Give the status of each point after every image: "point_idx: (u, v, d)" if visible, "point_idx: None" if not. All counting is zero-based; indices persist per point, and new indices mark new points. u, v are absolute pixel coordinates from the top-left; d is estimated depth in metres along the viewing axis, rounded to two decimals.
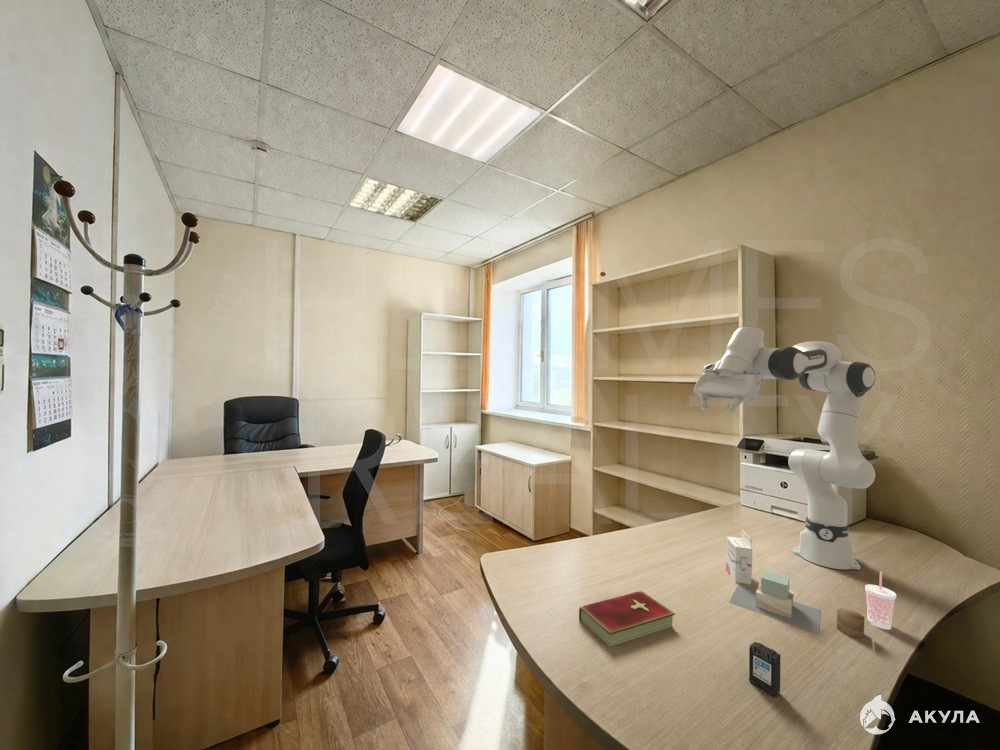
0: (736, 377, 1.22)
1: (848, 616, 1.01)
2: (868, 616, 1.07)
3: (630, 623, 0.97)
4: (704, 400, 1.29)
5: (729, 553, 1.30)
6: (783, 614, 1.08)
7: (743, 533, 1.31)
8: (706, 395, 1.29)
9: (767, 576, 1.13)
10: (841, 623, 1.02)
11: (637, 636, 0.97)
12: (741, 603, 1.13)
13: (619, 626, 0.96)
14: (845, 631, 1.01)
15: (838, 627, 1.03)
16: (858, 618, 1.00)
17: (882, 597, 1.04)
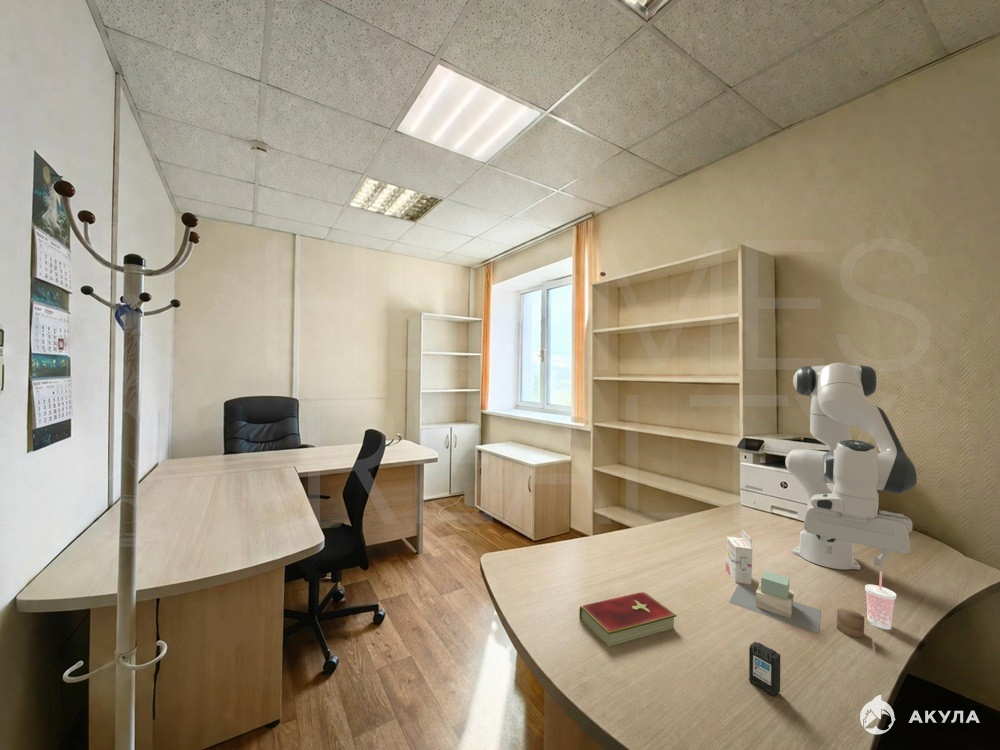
0: (875, 523, 0.98)
1: (848, 616, 1.01)
2: (868, 616, 1.07)
3: (630, 624, 0.97)
4: (826, 542, 1.05)
5: (729, 553, 1.30)
6: (783, 614, 1.08)
7: (743, 533, 1.31)
8: (827, 536, 1.05)
9: (767, 576, 1.13)
10: (841, 623, 1.02)
11: (637, 637, 0.97)
12: (741, 603, 1.13)
13: (618, 627, 0.96)
14: (845, 631, 1.01)
15: (838, 627, 1.03)
16: (858, 618, 1.00)
17: (882, 597, 1.04)
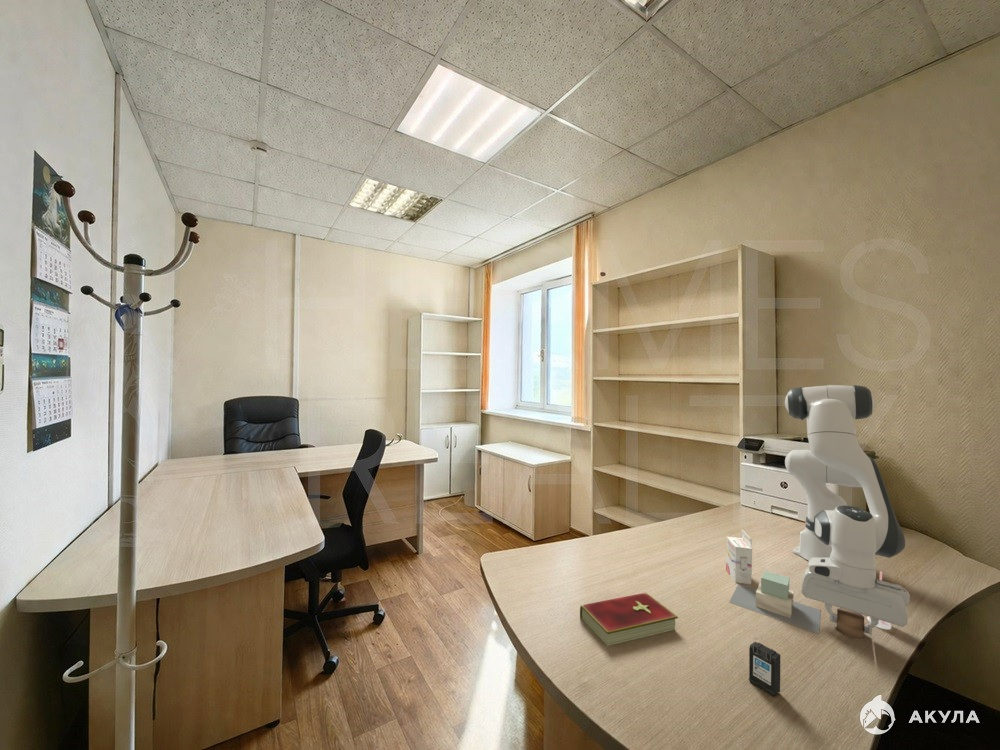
0: (872, 593, 0.98)
1: (848, 616, 1.01)
2: (868, 616, 1.07)
3: (629, 624, 0.97)
4: (830, 610, 1.04)
5: (729, 553, 1.30)
6: (783, 614, 1.08)
7: (743, 533, 1.31)
8: None
9: (767, 576, 1.13)
10: (841, 623, 1.02)
11: (637, 637, 0.97)
12: (741, 603, 1.13)
13: (617, 627, 0.96)
14: (845, 631, 1.01)
15: (838, 627, 1.03)
16: (858, 618, 1.00)
17: None
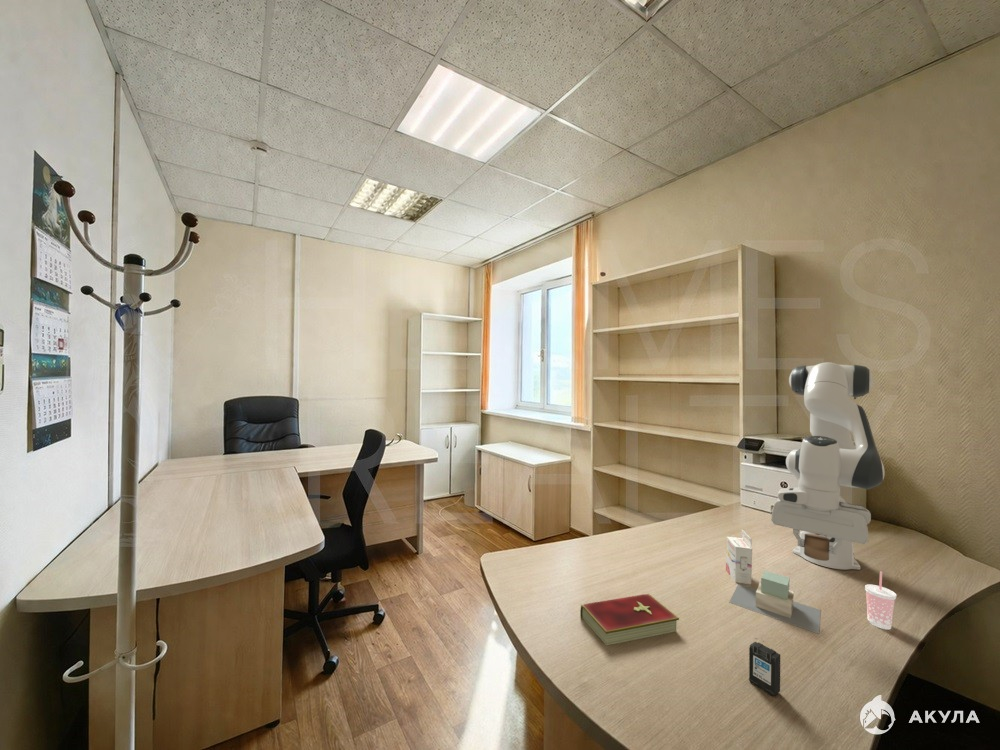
0: (836, 515, 1.03)
1: (814, 538, 1.06)
2: (868, 616, 1.07)
3: (629, 624, 0.97)
4: (798, 535, 1.09)
5: (729, 553, 1.30)
6: (783, 614, 1.08)
7: (743, 533, 1.31)
8: (799, 529, 1.09)
9: (767, 576, 1.13)
10: (808, 546, 1.06)
11: (636, 638, 0.97)
12: (741, 603, 1.13)
13: (617, 626, 0.96)
14: (811, 553, 1.05)
15: (805, 550, 1.07)
16: (823, 540, 1.05)
17: (882, 597, 1.04)
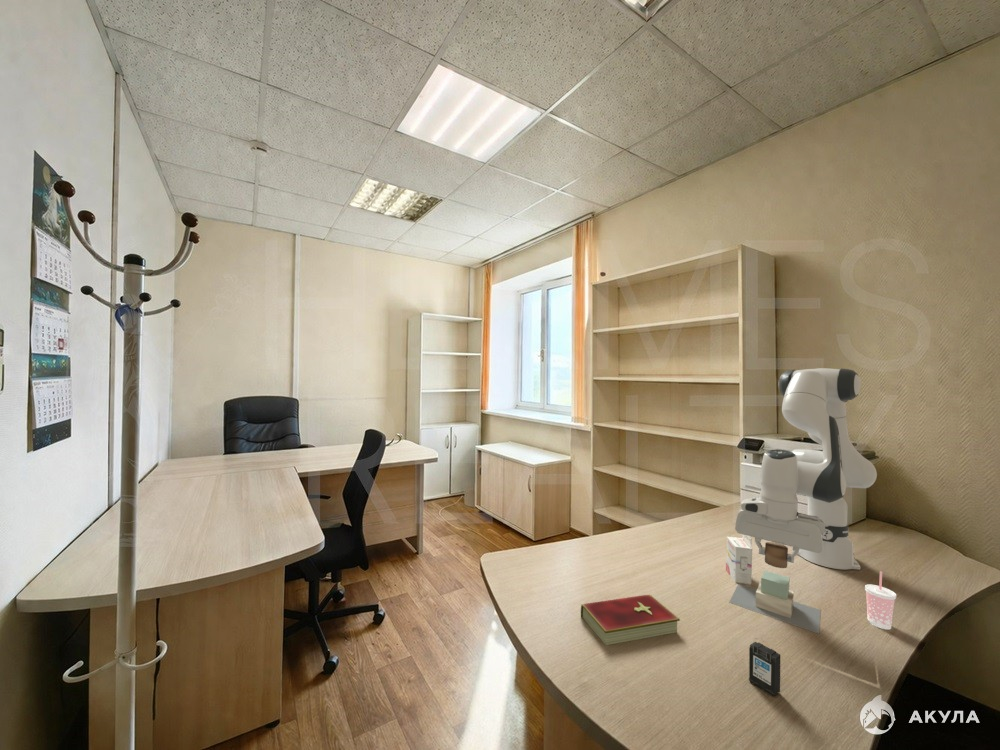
0: (793, 525, 1.09)
1: (773, 547, 1.11)
2: (868, 616, 1.07)
3: (629, 624, 0.97)
4: (759, 544, 1.15)
5: (729, 553, 1.30)
6: (783, 614, 1.08)
7: None
8: (760, 538, 1.14)
9: (767, 576, 1.13)
10: (767, 554, 1.12)
11: (636, 638, 0.97)
12: (741, 603, 1.13)
13: (616, 626, 0.96)
14: (770, 560, 1.11)
15: (765, 558, 1.13)
16: (782, 548, 1.10)
17: (882, 597, 1.04)
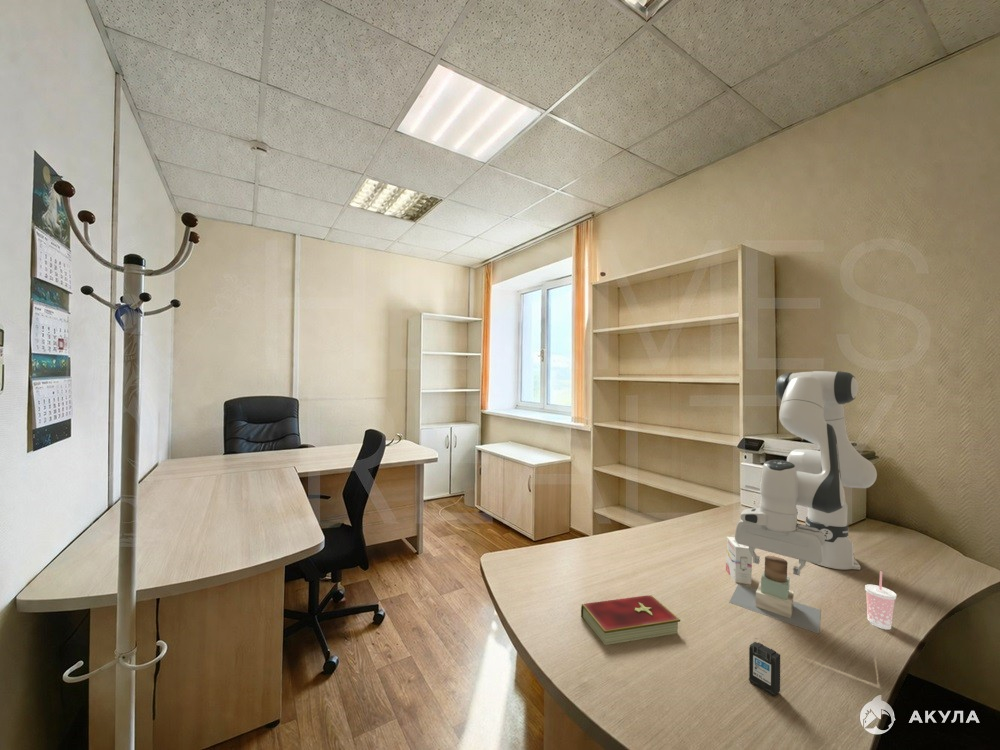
0: (793, 536, 1.09)
1: (773, 561, 1.11)
2: (868, 616, 1.07)
3: (628, 624, 0.97)
4: (753, 552, 1.16)
5: (729, 553, 1.30)
6: (783, 614, 1.08)
7: None
8: (754, 547, 1.15)
9: None
10: (767, 568, 1.12)
11: (636, 638, 0.97)
12: (741, 603, 1.13)
13: (616, 626, 0.96)
14: (770, 575, 1.11)
15: (765, 572, 1.13)
16: (781, 563, 1.11)
17: (882, 597, 1.04)
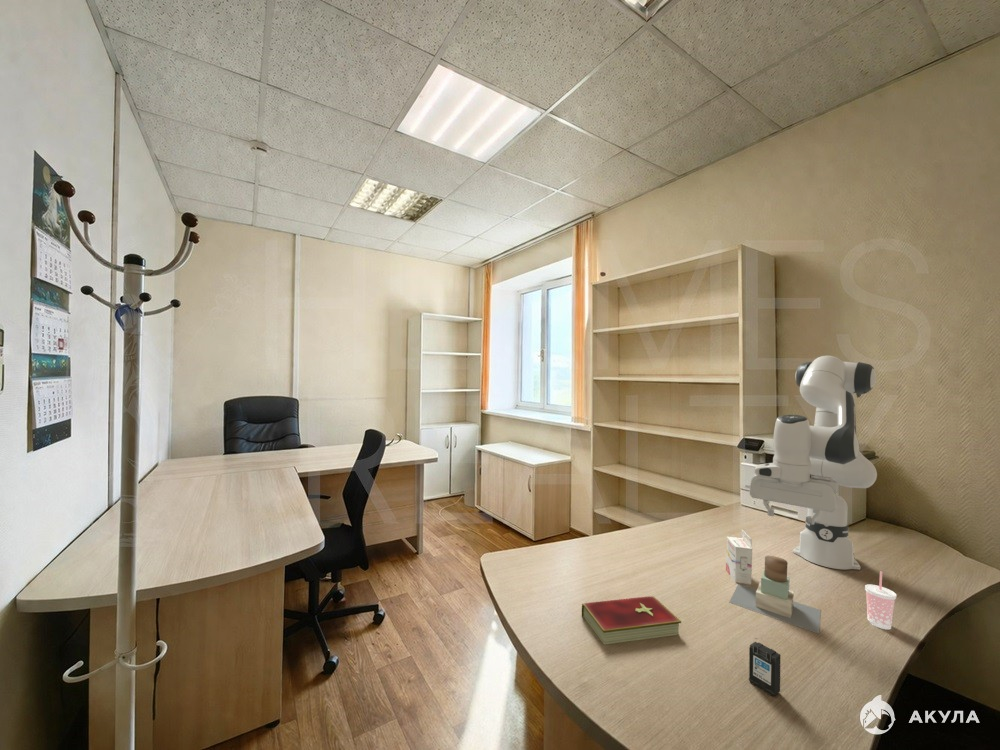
0: (807, 486, 1.12)
1: (773, 561, 1.11)
2: (868, 616, 1.07)
3: (628, 625, 0.97)
4: (768, 505, 1.19)
5: (729, 553, 1.30)
6: (783, 614, 1.08)
7: (743, 533, 1.31)
8: (769, 500, 1.19)
9: None
10: (767, 568, 1.12)
11: (636, 639, 0.96)
12: (741, 603, 1.13)
13: (615, 626, 0.96)
14: (770, 575, 1.11)
15: (765, 572, 1.13)
16: (781, 563, 1.11)
17: (882, 597, 1.04)
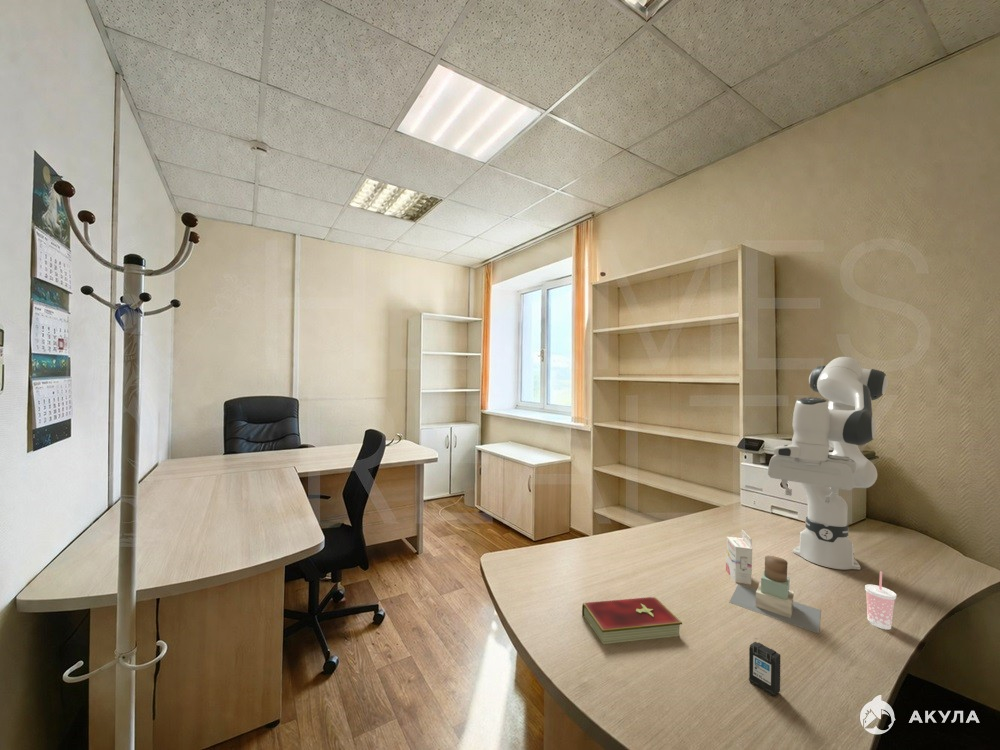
0: (825, 466, 1.15)
1: (773, 561, 1.11)
2: (868, 616, 1.07)
3: (628, 625, 0.97)
4: (786, 485, 1.22)
5: (729, 553, 1.30)
6: (783, 614, 1.08)
7: (743, 533, 1.31)
8: (787, 480, 1.22)
9: None
10: (767, 568, 1.12)
11: (635, 639, 0.96)
12: (741, 603, 1.13)
13: (615, 626, 0.96)
14: (770, 575, 1.11)
15: (765, 572, 1.13)
16: (781, 563, 1.11)
17: (882, 597, 1.04)
